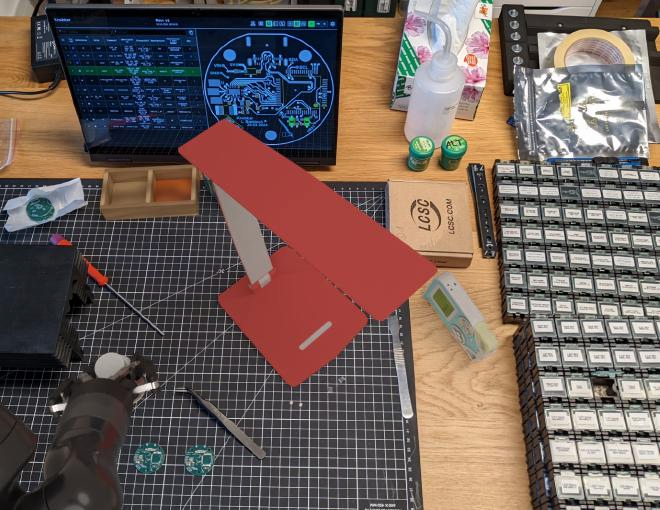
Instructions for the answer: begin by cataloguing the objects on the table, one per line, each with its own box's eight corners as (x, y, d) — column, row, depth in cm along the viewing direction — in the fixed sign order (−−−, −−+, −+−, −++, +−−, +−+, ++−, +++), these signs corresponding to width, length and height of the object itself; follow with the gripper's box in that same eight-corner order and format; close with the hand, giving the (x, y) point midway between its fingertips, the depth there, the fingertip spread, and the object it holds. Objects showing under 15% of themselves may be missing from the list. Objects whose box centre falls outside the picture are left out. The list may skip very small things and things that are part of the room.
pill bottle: (140, 409, 90) (121, 388, 82) (104, 402, 91) (83, 381, 82) (151, 374, 93) (135, 351, 85) (117, 368, 94) (97, 344, 85)
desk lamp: (340, 441, 97) (349, 349, 62) (192, 281, 111) (131, 132, 76) (418, 367, 103) (466, 245, 68) (269, 223, 117) (245, 61, 82)
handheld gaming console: (470, 369, 105) (419, 297, 109) (483, 361, 106) (432, 289, 110) (491, 353, 95) (434, 274, 99) (505, 344, 96) (448, 266, 100)
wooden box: (198, 215, 118) (195, 203, 114) (106, 220, 117) (99, 208, 113) (200, 176, 122) (196, 164, 119) (110, 181, 121) (104, 169, 118)
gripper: (149, 380, 72) (160, 327, 88) (20, 409, 70) (56, 350, 86) (165, 436, 74) (173, 375, 90) (40, 466, 72) (71, 398, 88)
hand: (116, 363), depth 88 cm, fingers closed on pill bottle, 5 cm apart
